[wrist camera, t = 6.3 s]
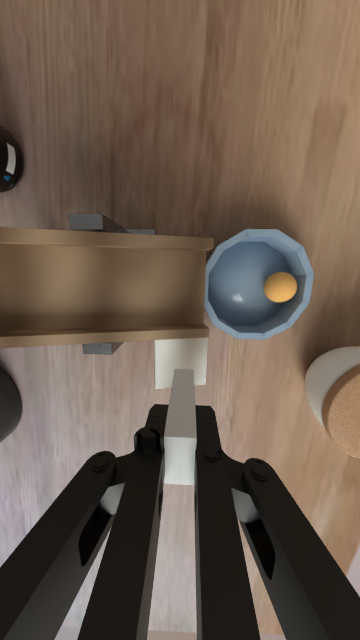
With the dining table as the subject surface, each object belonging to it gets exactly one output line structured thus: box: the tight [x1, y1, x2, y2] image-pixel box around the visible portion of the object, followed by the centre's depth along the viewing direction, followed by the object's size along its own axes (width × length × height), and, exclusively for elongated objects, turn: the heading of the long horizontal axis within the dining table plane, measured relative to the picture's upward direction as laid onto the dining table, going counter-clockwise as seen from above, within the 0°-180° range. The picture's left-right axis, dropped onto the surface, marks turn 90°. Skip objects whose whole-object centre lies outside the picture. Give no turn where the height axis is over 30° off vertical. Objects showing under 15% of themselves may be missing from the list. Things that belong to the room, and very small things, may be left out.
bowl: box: [204, 229, 314, 340], centre depth 22 cm, size 11×11×4 cm
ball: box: [264, 272, 297, 302], centre depth 21 cm, size 3×3×3 cm
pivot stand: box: [69, 214, 156, 355], centre depth 20 cm, size 7×12×9 cm, turn 179°
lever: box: [0, 227, 214, 389], centre depth 16 cm, size 18×14×3 cm
